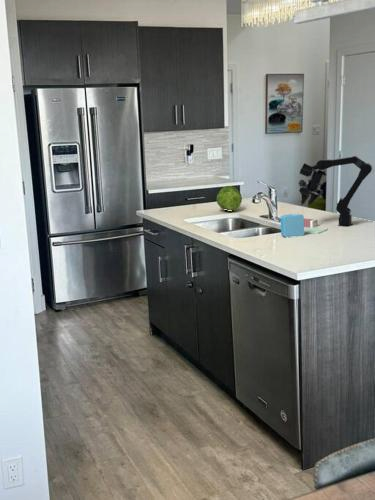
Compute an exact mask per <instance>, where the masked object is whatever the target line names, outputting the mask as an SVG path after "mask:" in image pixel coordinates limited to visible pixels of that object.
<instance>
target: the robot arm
mask: <svg viewBox="0 0 375 500" xmlns="http://www.w3.org/2000/svg"><path fill="white" fill-rule="evenodd" d="M350 164H354V165H355V166H356V167H357V168H358V169H359V170H360V171H359V172H358V175H357V177H356V179H355V180H354V182H353V183H352V185H351V186H350V188H349V190H348V192H347V193H346V195H345V196H344V197H343V198H342V197H340V199H339V201H338V202H337V203H336V207H335V208H336V209H335V210H336V211H337V213H338V214H339V216H338V225H337V226H338V227H339V226H340V227H350V226H353V223H352V222H353V221H352V220H353V219H352V214H351V212H352V210H351V208H349V204H350V202H351V200H352V198H353V196H354V195H355V193H356V192H357V190H358V189H359V187H360V186H361V184H362V182H363V181H364V180H365V179H366V177H368V175H369V174H370V173H371V172H372V170H373V166H372V164H371V163H369V162H366V161H364V160H363V159H361V158H360V157H358V156H357V155H353V156H348V157H342V158H336V159H326V158H325V159H324V158H322V159H320V160H318V161H317V162H316V164H315V165H314V164H313V165H310V164H308V163H305V162H303V165H302V166H301V168H300V170H299V174H300V175H302V176H305V177H308V178H309V177H311V178H310V179H308V181H305V180H304V179H300V180H299V182H298V185H299V187H300V188H299V189H298V191H299V193H300V195H301V201H300V203H301V205H304V204H305V203H306V202H307V201H308V199H309V202H308V205H312V204H313V203H314V202H315V201H316V200H317V199H318V198H320V197H321V196H322V195H323V193H324V192H323V189H321V188H319V186H321V185H322V183H321V181H322V179H323V177H324V176H325V177H326V176H327V175H328V174H327V172H326V171H327V170H326V169H329V168H332V167H337V166H343V165H344V166H345V165H350Z"/></svg>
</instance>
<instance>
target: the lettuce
mask: <svg viewBox="0 0 375 500" xmlns="http://www.w3.org/2000/svg"><path fill="white" fill-rule="evenodd" d="M242 200H243V196H242V194H241V192H240V191H239V190H238V189H237V188H236V187H234V186H231V185H226V186H224V187H222V188H221V189H220V190H219V191H218V194H216V203H217V205H218V206H219V208H221V209H222V210H223V209H227V210H234V209H236V210H238V208H239V207H240V206H241V204H242V202H243V201H242ZM234 211H235V210H234Z"/></svg>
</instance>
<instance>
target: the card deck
mask: <svg viewBox="0 0 375 500" xmlns="http://www.w3.org/2000/svg"><path fill="white" fill-rule="evenodd" d="M318 223H319V222H318V219H317V218H316V219H315V218H304V228H306V227H309V228H317V227H318V225H319V224H318Z"/></svg>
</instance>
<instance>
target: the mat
mask: <svg viewBox="0 0 375 500" xmlns="http://www.w3.org/2000/svg"><path fill="white" fill-rule="evenodd" d="M326 230H327V231H328V230H329V228H319V227H318V228H317V227H313V228H309V227H304V234H313V235H315V234H316V235H319V234H321V233H323V231H324V232H327V231H326ZM318 233H319V234H318Z"/></svg>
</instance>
